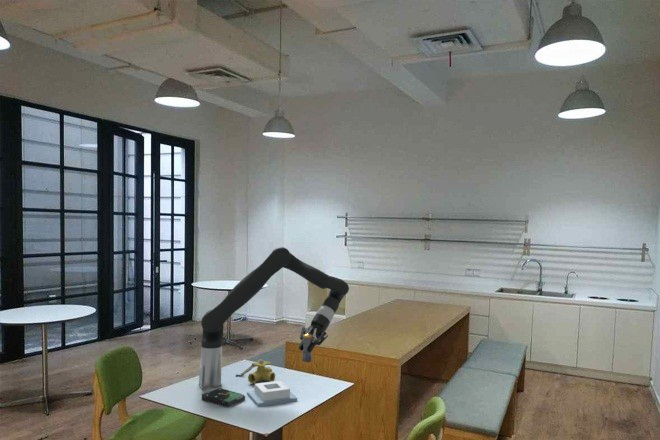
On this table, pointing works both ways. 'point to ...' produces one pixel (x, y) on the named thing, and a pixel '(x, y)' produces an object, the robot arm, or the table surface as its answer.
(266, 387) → the socket mount
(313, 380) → the table surface
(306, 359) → the gold topped tube
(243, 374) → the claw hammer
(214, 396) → the disk drive
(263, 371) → the ball valve
